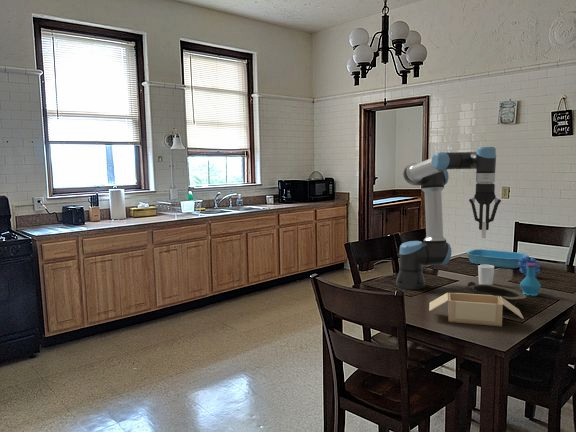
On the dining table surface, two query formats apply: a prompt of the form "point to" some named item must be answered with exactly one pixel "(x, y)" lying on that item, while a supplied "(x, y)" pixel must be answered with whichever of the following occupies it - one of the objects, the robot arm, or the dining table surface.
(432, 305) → the flap
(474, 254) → the casserole dish
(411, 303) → the dining table surface
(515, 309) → the flap
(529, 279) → the perfume bottle
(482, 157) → the robot arm
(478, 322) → the carton
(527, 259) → the grapes
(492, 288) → the stone bowl
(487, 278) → the white cup
